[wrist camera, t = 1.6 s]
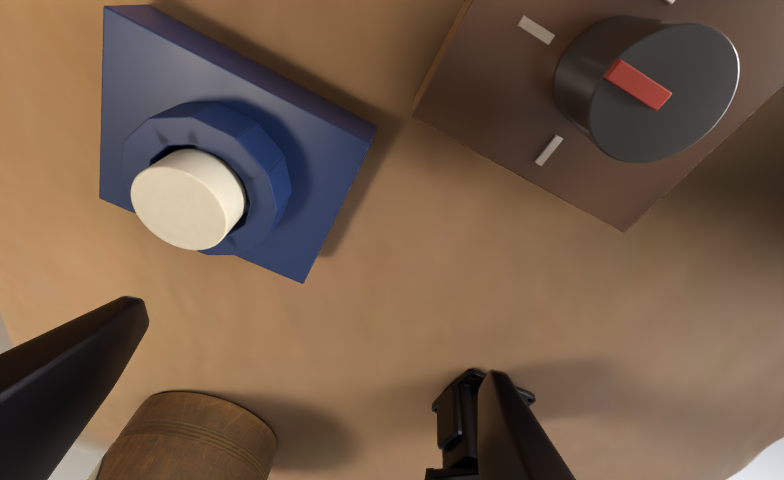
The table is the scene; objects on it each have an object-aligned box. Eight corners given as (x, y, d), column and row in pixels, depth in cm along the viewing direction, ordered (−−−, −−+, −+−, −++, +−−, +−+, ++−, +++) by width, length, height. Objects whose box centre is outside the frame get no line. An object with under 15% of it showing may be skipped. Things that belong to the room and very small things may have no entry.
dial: (690, 51, 13) (783, 71, 10) (608, 143, 16) (660, 188, 12) (606, -8, 13) (673, -9, 9) (531, 98, 15) (563, 131, 11)
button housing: (378, 126, 19) (363, 162, 15) (314, 258, 24) (291, 311, 20) (146, 3, 17) (53, 6, 13) (131, 178, 22) (63, 220, 18)
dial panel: (782, 18, 15) (856, 24, 13) (601, 204, 20) (626, 235, 18) (548, -161, 13) (577, -200, 10) (413, 100, 18) (410, 118, 16)
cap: (256, 174, 16) (235, 195, 14) (236, 239, 18) (216, 264, 17) (165, 132, 15) (133, 148, 14) (156, 204, 18) (126, 226, 16)
